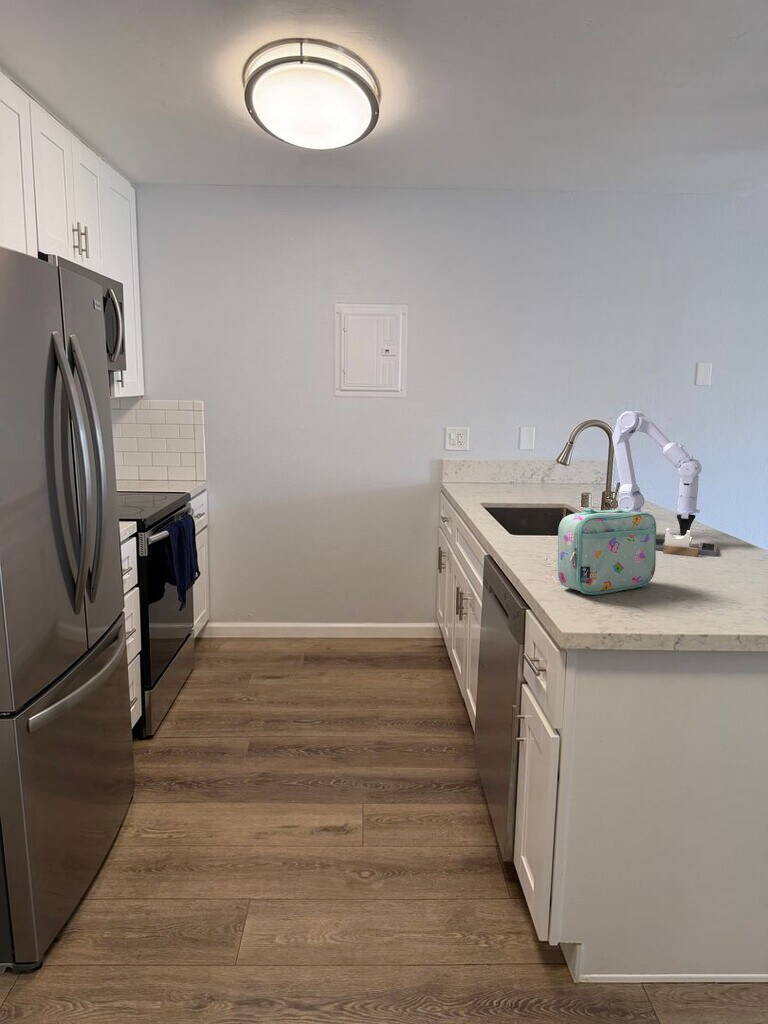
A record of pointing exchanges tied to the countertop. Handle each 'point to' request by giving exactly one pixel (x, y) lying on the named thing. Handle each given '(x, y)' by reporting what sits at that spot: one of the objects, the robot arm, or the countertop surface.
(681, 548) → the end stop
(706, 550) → the trap pits
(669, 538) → the bracket
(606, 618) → the countertop surface
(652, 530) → the lunch box
